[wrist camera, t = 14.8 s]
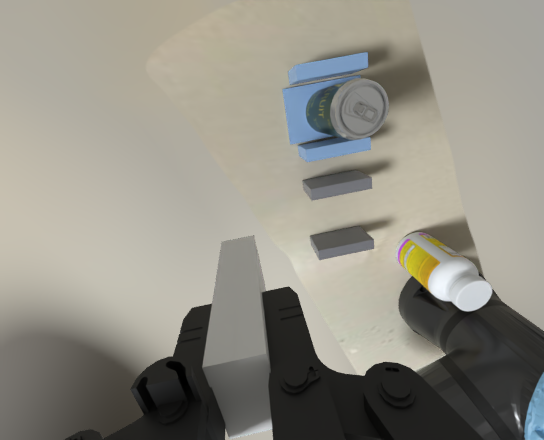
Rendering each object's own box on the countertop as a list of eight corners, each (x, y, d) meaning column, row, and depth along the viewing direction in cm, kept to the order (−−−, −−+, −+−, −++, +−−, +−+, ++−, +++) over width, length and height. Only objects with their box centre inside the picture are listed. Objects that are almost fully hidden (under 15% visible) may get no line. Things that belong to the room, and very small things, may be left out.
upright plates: (359, 234, 43) (373, 248, 38) (311, 244, 43) (319, 260, 38) (350, 60, 34) (367, 51, 29) (288, 71, 33) (295, 65, 29)
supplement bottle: (397, 271, 46) (450, 325, 35) (390, 239, 44) (446, 285, 32) (434, 257, 46) (500, 307, 34) (429, 224, 44) (500, 265, 32)
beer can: (351, 100, 35) (402, 94, 24) (331, 139, 37) (370, 150, 26) (316, 80, 34) (353, 64, 23) (297, 121, 35) (322, 125, 24)
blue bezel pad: (361, 130, 37) (362, 130, 37) (290, 144, 37) (290, 144, 36) (358, 75, 34) (360, 75, 34) (282, 89, 34) (282, 89, 34)
